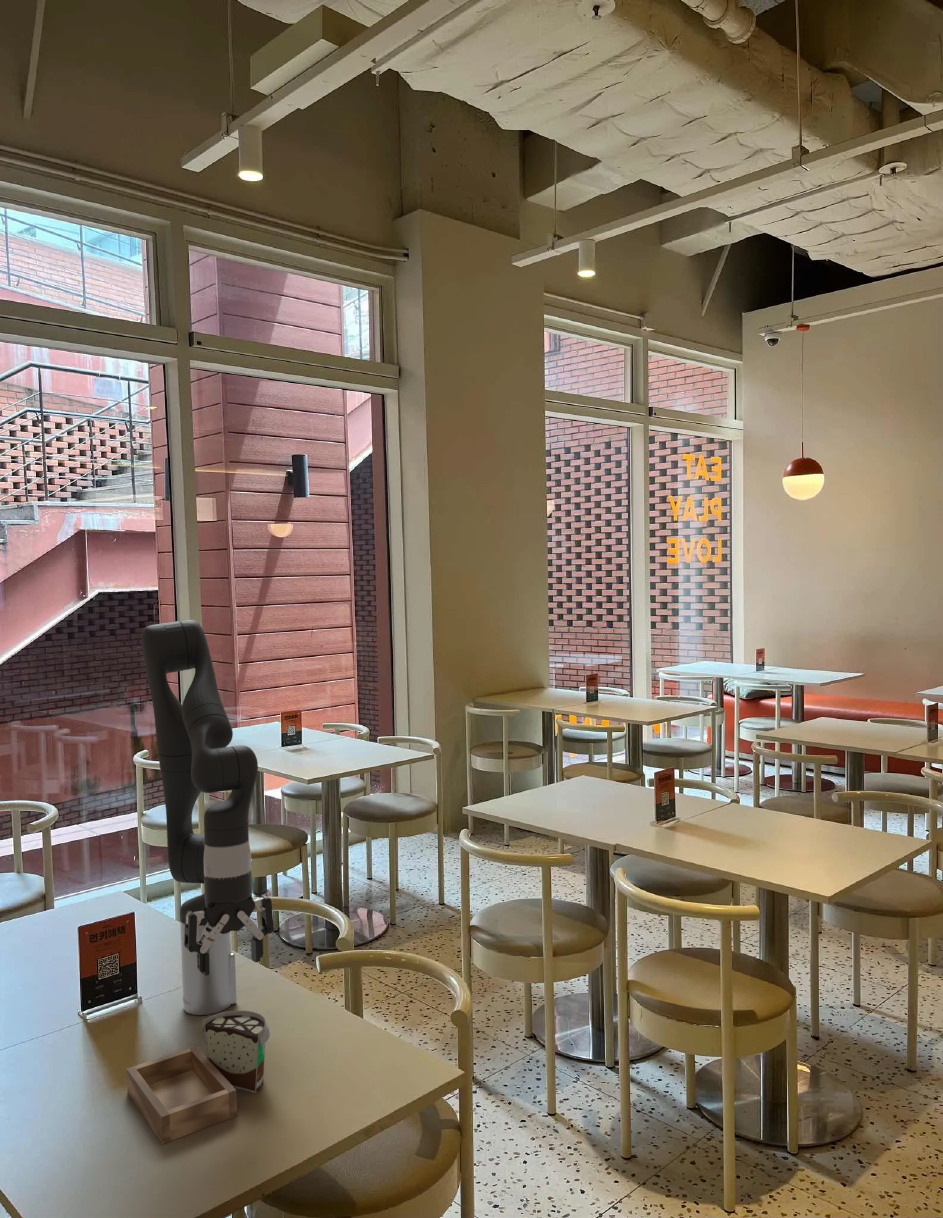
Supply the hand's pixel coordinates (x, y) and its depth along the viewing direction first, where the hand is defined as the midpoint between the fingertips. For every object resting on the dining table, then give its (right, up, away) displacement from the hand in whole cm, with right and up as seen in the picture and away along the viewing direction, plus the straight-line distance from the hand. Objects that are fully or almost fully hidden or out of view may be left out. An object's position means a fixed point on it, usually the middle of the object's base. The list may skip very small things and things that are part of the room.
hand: (230, 967), depth 152 cm
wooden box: (-6, -19, -6) cm, 21 cm away
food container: (+2, -19, +1) cm, 19 cm away
